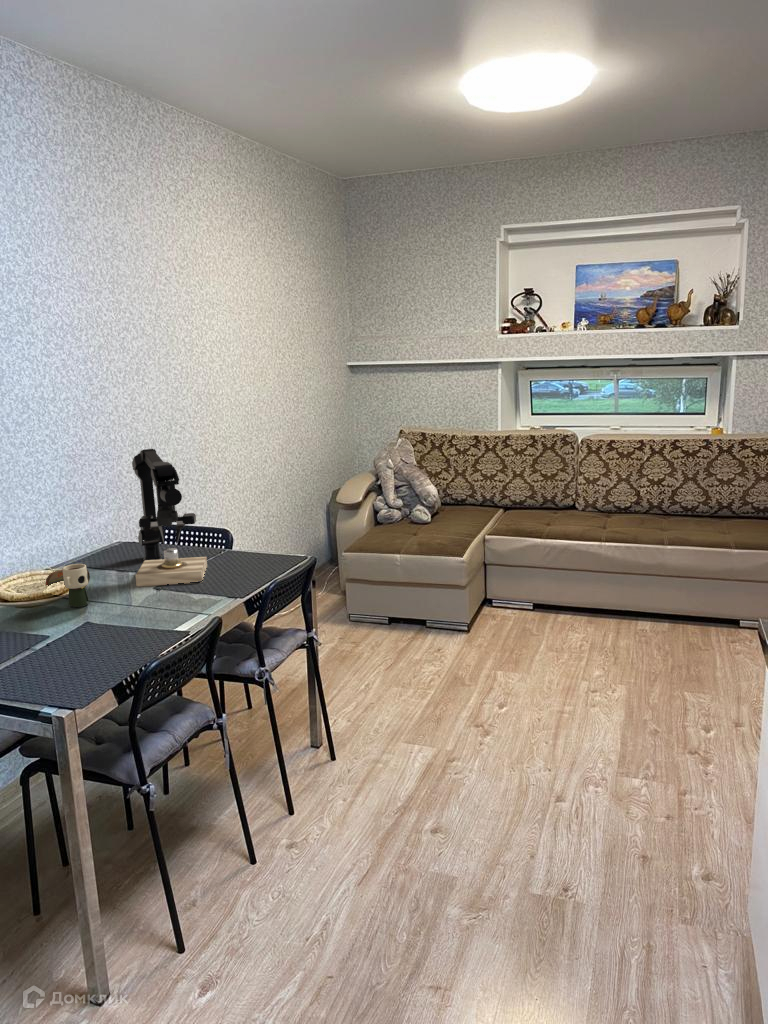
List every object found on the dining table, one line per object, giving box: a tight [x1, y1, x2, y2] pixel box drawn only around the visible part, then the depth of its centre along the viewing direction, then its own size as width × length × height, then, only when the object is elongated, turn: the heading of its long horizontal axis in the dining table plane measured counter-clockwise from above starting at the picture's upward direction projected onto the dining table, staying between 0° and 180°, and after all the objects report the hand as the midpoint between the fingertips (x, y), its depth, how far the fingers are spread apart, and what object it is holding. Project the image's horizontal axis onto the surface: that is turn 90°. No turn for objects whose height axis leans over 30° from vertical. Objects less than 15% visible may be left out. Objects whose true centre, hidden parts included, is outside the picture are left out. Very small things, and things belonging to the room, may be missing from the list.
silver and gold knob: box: [162, 547, 182, 569], centre depth 276 cm, size 7×7×9 cm
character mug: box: [61, 563, 90, 608], centre depth 249 cm, size 11×7×13 cm, turn 173°
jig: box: [135, 556, 208, 587], centre depth 277 cm, size 18×22×4 cm
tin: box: [45, 569, 91, 588], centre depth 263 cm, size 15×3×8 cm, turn 143°
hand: (170, 543), depth 275 cm, fingers open, 4 cm apart
